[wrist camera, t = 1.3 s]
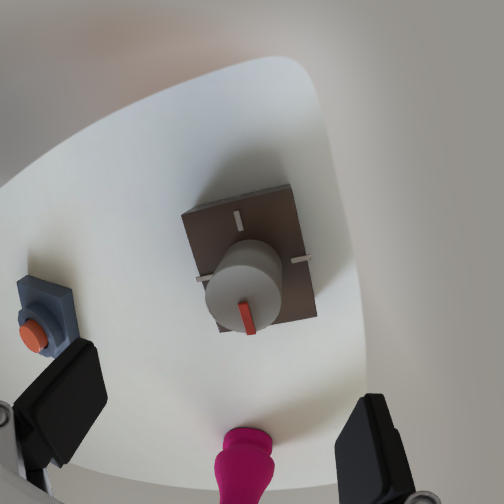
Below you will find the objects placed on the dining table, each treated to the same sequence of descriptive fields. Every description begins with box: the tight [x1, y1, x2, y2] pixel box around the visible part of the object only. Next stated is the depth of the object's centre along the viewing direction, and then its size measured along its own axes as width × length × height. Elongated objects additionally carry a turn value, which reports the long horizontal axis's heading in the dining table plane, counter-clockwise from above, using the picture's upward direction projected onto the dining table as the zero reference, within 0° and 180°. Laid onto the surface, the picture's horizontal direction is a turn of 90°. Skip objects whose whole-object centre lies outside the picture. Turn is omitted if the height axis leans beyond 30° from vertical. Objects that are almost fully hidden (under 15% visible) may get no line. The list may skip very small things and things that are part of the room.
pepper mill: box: [214, 428, 275, 504], centre depth 23 cm, size 7×7×20 cm
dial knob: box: [205, 240, 282, 335], centre depth 19 cm, size 4×4×5 cm
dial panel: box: [181, 184, 317, 333], centre depth 23 cm, size 10×9×3 cm
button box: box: [17, 275, 80, 359], centre depth 28 cm, size 10×8×4 cm
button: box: [19, 319, 48, 353], centre depth 25 cm, size 4×4×2 cm
